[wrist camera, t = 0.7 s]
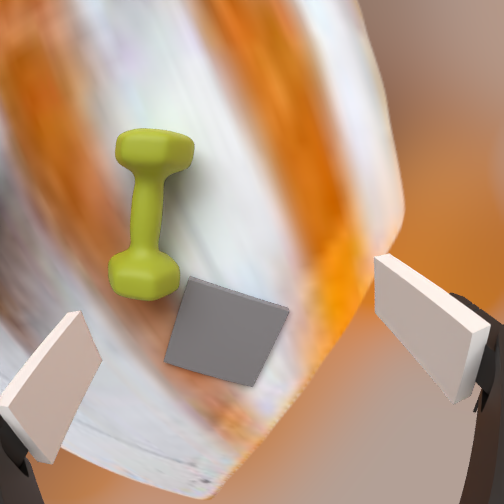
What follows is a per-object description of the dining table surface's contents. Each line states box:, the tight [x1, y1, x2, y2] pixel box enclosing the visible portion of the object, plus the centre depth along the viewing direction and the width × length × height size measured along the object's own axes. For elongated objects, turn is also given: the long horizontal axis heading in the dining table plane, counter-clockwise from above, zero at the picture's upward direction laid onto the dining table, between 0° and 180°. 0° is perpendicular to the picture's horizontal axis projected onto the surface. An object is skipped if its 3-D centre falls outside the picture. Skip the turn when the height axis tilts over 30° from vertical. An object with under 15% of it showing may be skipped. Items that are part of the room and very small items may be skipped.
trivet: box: [164, 276, 289, 387], centre depth 37 cm, size 12×12×1 cm
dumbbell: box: [108, 128, 194, 301], centre depth 29 cm, size 16×8×7 cm, turn 171°
